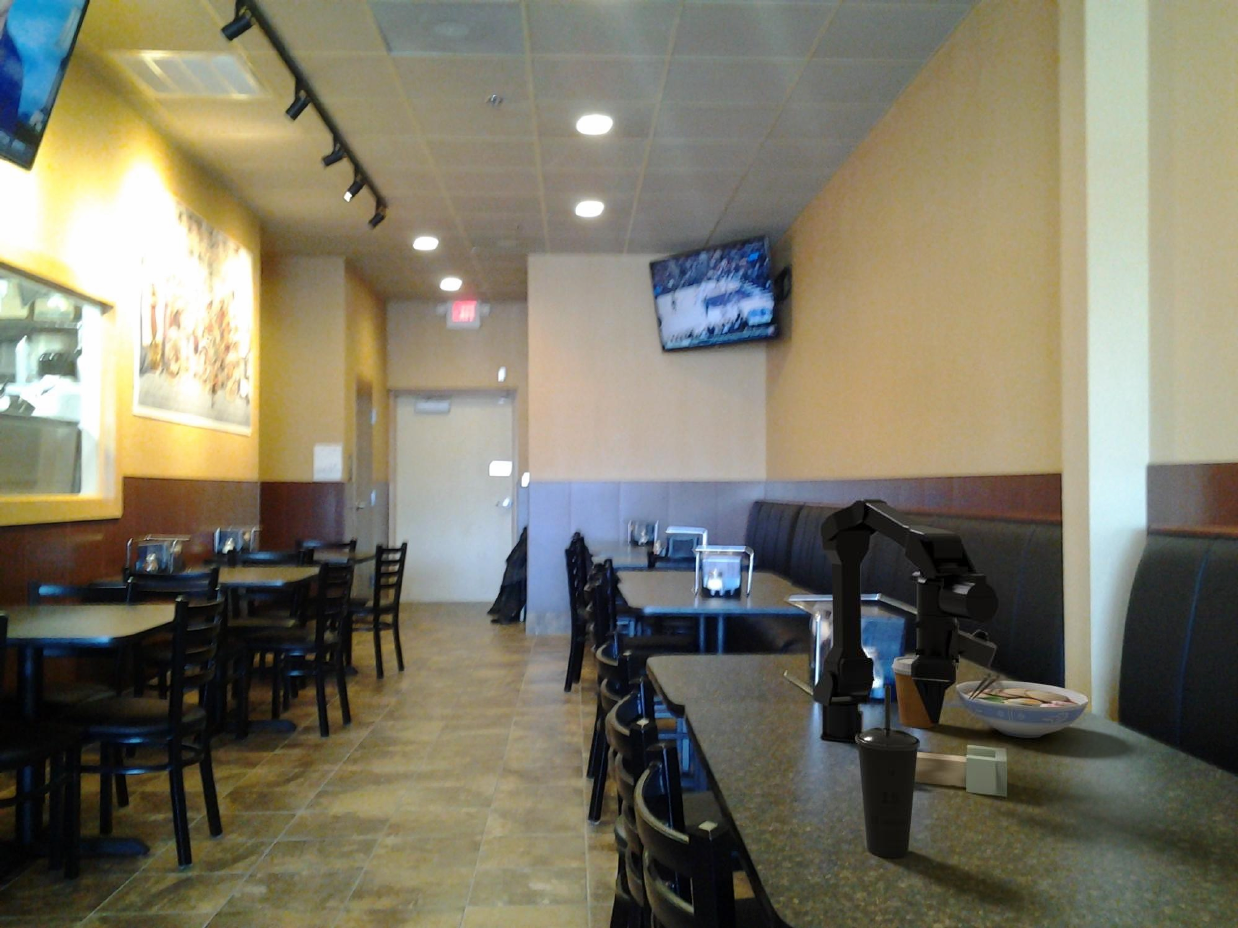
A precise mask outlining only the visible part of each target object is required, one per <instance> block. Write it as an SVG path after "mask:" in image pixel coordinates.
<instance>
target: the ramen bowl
mask: <svg viewBox="0 0 1238 928" xmlns="http://www.w3.org/2000/svg"><path fill="white" fill-rule="evenodd" d="M991 677H992V673H991V672H987V673H986V674H985V676H984V677H983V678H982V679H981V680H976V681H966V682H962V683H960V684H957V685H955V692H956V694H957V697H958V698H959V700H960V702H961V703H962V704H963V706H964V708H965V709H966V710H967V712H968V713H969V714H970V715H971V716H973V717H974V718H975V719H976V720H978V721H980V722H981V723H983V724H985V725H986V726H988V727H991V728H993V729H996V730H997V731H998V732H1000V733H1002V734H1003V735H1006V736H1011V737H1017V738H1024V739H1026V738H1027V739H1028V738H1029V739H1031V738H1032V739H1033V738H1040V737H1042V736H1044V735H1047V734H1051V733H1054V732H1059V731H1061V730H1064V729H1065V728H1067V727H1068V726H1070V725H1072V724H1074V723H1075V722H1076V721H1077V720H1078V719H1079V718H1080V717H1081V715H1082V714H1083V712H1084V711H1085V710H1086V708H1087V707H1088V704H1089V703H1090V699H1089V698H1088V696H1087V695H1086V694H1083V693H1080V692H1077V691H1076V690H1072V689H1068V688H1065V687H1064V688H1063V687H1060V686H1054V685H1049V684H1041V683H1035V682H1027V681H1025V682H1024V681H1015V680H1014V681H1013V680H1011V681H1010V680H999V679H1000V678H1001V674H1000V673H996V674H995V675H994V676H993V677H992V678H991ZM990 678H991V679H990ZM989 679H990V680H989Z"/></svg>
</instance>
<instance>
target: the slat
mask: <svg viewBox="0 0 1238 928" xmlns="http://www.w3.org/2000/svg"><path fill="white" fill-rule="evenodd" d="M922 782H924V784H932V785H934V784H935V785H944V786H951V785H956V786H955V787H961V788H962V787H963V788H966V756H963V755H955V754H954V755H953V754H952V755H951V754H941V753H934V752H933V753H931V752H921V751H917V761H916V772H915V783H922Z"/></svg>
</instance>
